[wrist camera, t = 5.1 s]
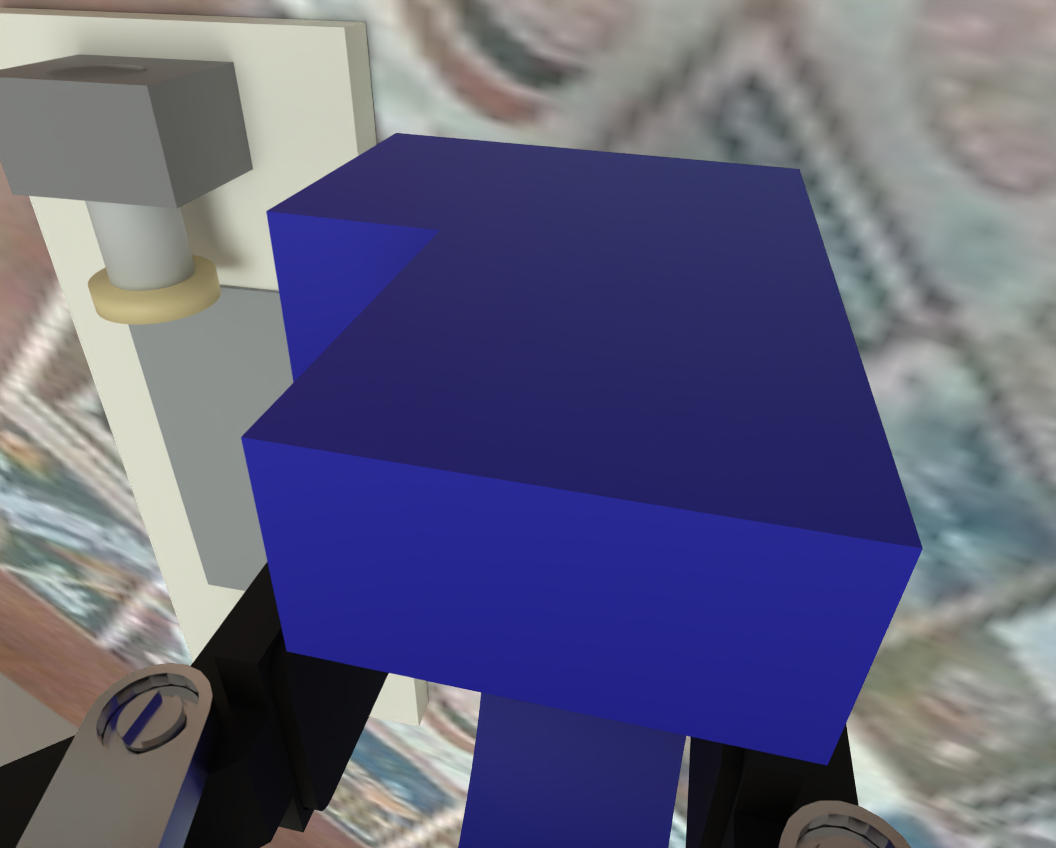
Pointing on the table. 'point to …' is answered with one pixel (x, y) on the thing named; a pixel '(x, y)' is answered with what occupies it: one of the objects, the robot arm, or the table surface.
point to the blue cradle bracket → (578, 467)
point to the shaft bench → (218, 229)
